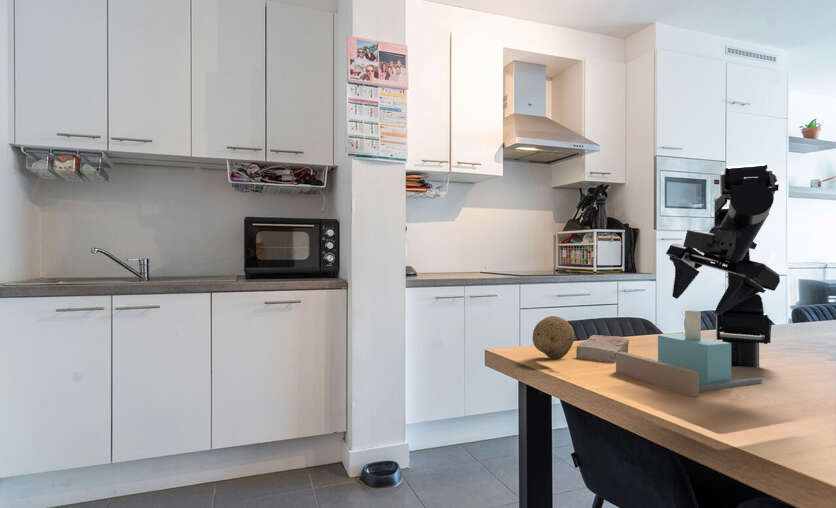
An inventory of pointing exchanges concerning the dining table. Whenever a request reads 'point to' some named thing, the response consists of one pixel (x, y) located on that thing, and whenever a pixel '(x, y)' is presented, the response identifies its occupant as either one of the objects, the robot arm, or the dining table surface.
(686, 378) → the track
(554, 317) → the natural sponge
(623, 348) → the brick
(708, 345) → the dowel block
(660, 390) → the dining table surface
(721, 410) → the dining table surface
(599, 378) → the dining table surface
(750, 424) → the dining table surface
